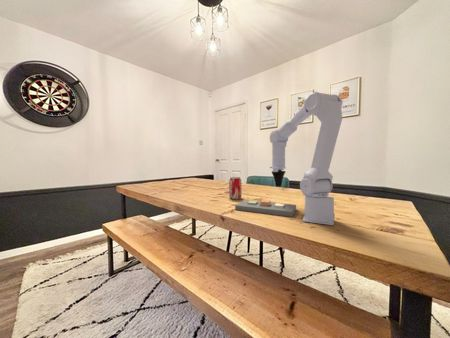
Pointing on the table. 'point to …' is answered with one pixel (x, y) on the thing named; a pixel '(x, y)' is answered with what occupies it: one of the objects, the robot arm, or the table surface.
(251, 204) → the sage key
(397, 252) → the table surface
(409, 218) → the table surface
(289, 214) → the key board
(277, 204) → the cream key
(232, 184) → the soda can
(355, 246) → the table surface
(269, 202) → the terracotta key
